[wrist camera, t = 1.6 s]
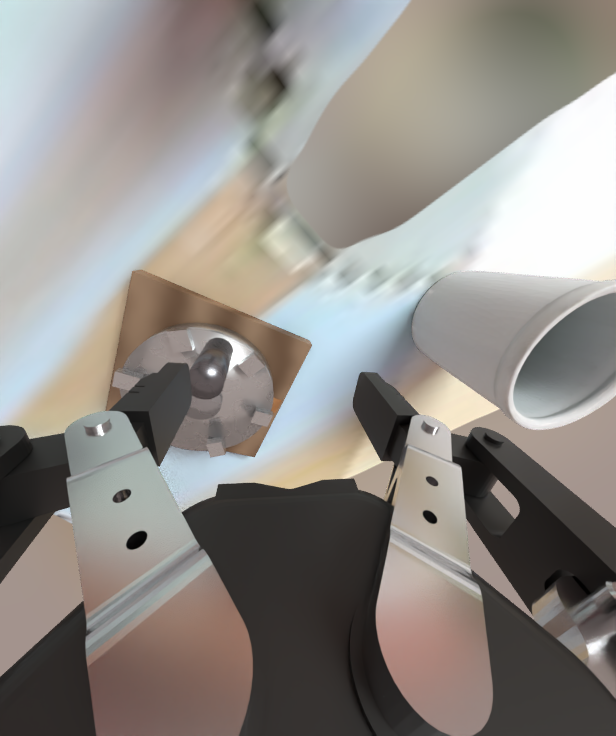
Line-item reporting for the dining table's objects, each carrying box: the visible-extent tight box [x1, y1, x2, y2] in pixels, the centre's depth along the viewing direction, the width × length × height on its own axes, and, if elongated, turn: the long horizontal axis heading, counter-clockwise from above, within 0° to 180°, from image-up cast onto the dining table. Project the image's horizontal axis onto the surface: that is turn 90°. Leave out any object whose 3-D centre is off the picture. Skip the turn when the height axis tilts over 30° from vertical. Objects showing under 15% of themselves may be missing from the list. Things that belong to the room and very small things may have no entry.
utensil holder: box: [411, 271, 616, 430], centre depth 29 cm, size 15×15×18 cm
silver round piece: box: [112, 322, 274, 457], centre depth 27 cm, size 18×18×11 cm
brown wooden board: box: [106, 270, 312, 457], centre depth 33 cm, size 22×22×2 cm
